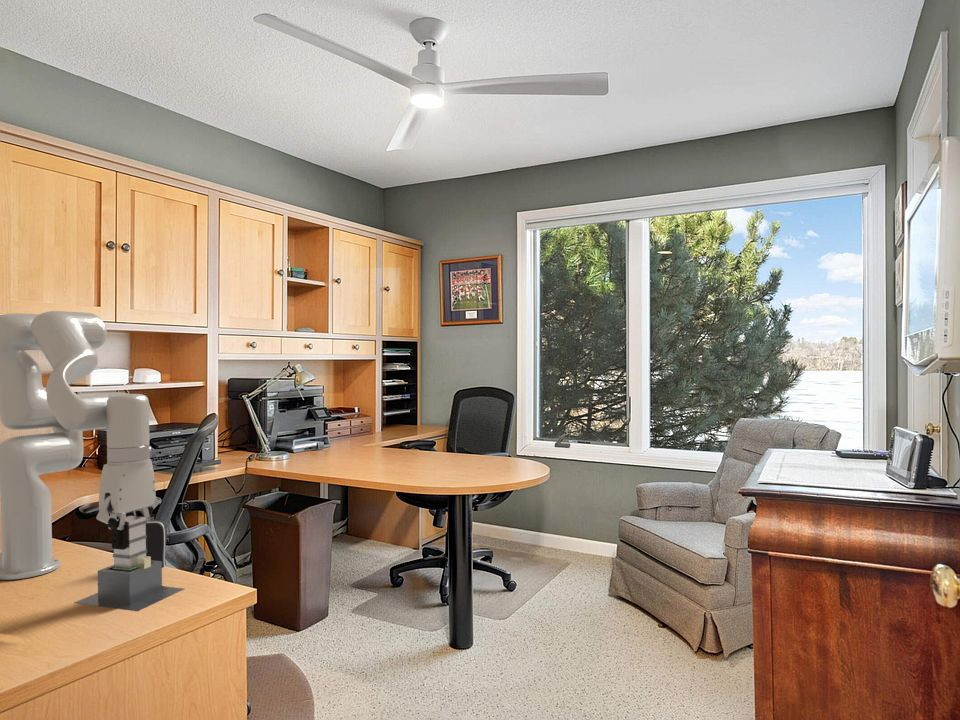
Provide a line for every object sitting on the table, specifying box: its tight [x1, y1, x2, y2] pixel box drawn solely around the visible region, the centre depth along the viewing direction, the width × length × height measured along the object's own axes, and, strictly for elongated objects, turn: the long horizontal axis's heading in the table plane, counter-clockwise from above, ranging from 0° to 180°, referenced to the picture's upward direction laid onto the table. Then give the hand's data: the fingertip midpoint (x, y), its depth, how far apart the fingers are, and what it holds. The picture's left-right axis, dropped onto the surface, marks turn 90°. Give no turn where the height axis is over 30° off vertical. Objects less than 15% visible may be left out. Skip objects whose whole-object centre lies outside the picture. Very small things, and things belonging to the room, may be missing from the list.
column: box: [112, 515, 147, 572], centre depth 126 cm, size 4×4×13 cm
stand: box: [73, 556, 185, 612], centre depth 126 cm, size 16×12×9 cm
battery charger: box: [146, 519, 168, 569], centre depth 145 cm, size 7×4×11 cm, turn 99°
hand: (129, 544), depth 126 cm, fingers closed on column, 4 cm apart
